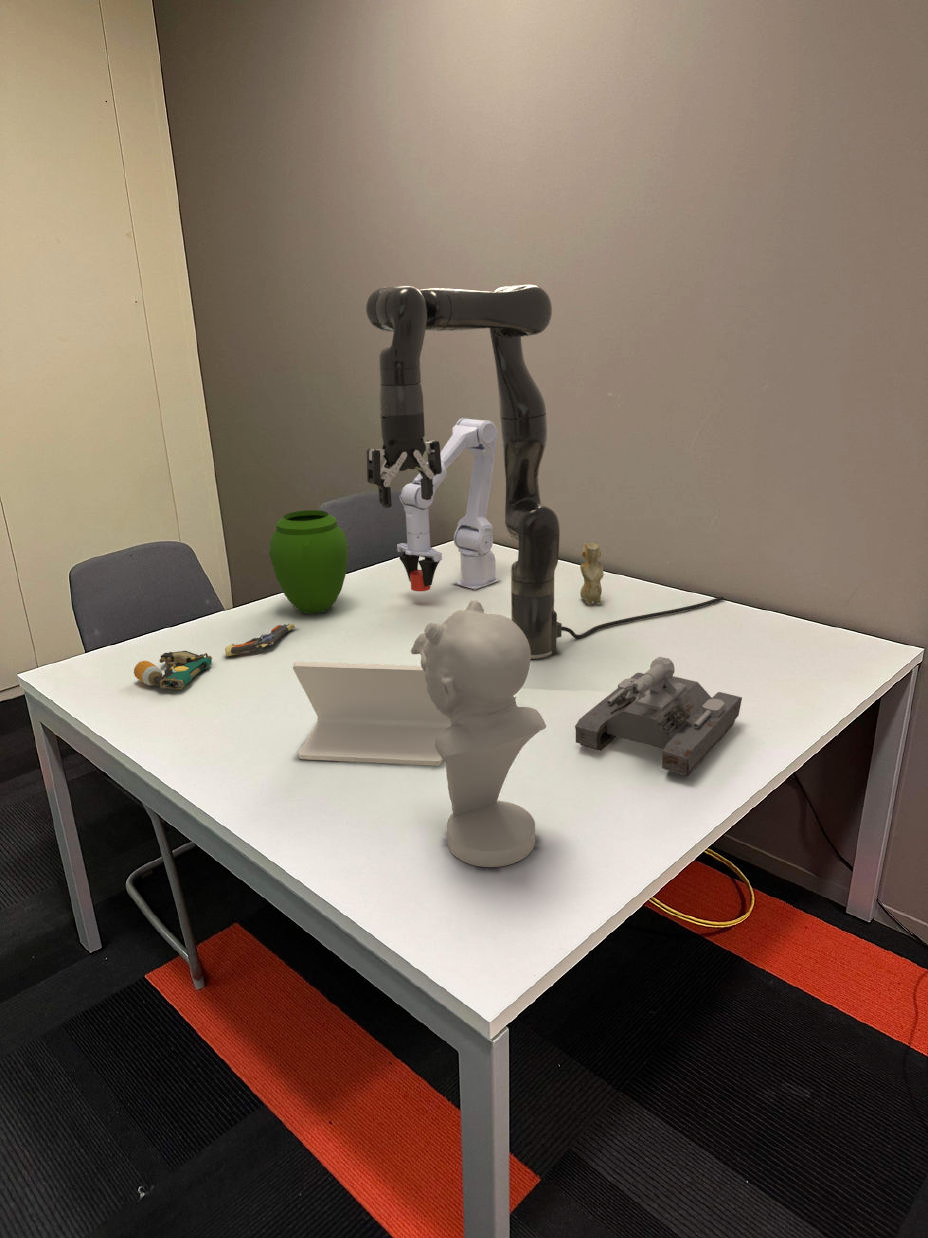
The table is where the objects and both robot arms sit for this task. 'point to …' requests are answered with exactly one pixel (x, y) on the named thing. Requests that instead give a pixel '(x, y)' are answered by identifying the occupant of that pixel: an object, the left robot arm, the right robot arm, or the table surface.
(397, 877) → the table surface
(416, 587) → the can
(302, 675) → the tablet stand
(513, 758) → the bust sculpture
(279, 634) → the toy gun
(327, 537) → the vase
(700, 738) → the toy
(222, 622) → the table surface
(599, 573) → the sculpture
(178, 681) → the multicoloured piece
